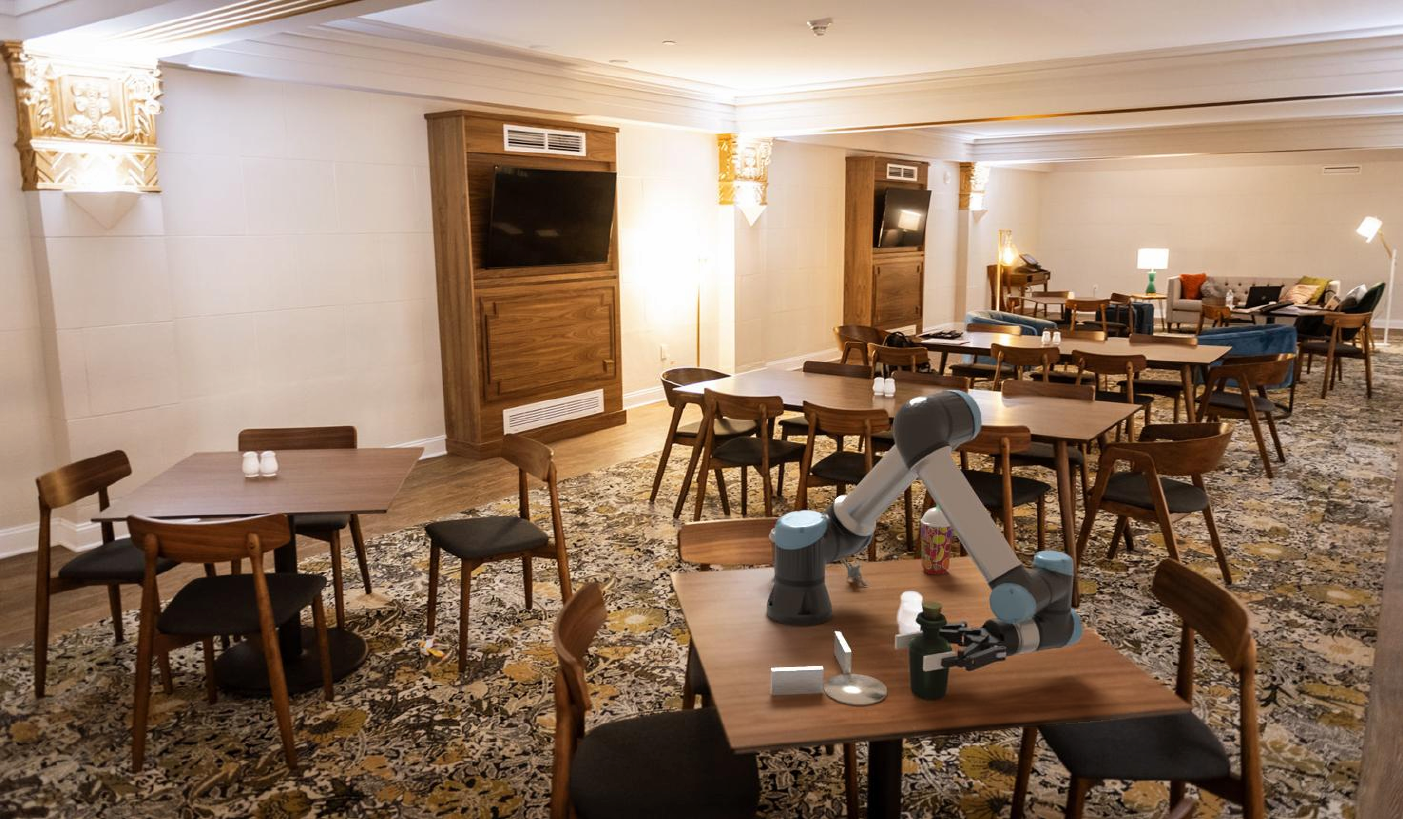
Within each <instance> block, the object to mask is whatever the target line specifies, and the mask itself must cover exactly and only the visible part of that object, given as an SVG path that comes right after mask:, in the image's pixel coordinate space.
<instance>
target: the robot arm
mask: <svg viewBox="0 0 1403 819" xmlns="http://www.w3.org/2000/svg"><path fill="white" fill-rule="evenodd" d="M982 421H983V420H982V412H981V409H980V407H979V405H978V403H977V401H976V400H975V399H974V398H973V396H971V394H969V393H967V392H966V391H962V390H957V389H953V390H952V389H946V390H943V391H941V392H936V393H931V394H927V395H921V396H915V397H913V398H910V399H909V400H906V401H905V402H904V403H903V404H901V406H900V407H899V408H898V409H897V411H896V413H895V414H894V418H893V421H892V422H893V423H892V436H893V440H894V445H893V446H891V448H890V449H889V450H888V451H887V452H886V453H885V454H884V455H883V456H882V458H881V459H880V460H879V461H878V462H877V463H876V464H875V465H874V467H873V468H872V469H871V470H870V471H869V472H868V473H867V474H866V475H865V476H864V477H863V478H862V480H861V481H860V482H859V483H858V484H857V485H856V486H855V487H854V488H853V489H852V490H851V492H850V493H849V494H841V495H839V496H838V497H836V498H835V499H834V501H833V502H831V504H830V505H829V506H828V507H827V508H826V509H825V510H824V511H822V512H818V511H816V510H810V509H809V510H806V509H803V510H799V511H797V510H795V511H791V512H787V513H786V514H783V515H782V516H780V517H779V518H778V519H777V520H776V523H775V527H774V528H775V534H774V541H775V572H774V580H773V581H774V582H773V584H772V588H771V590H770V593H769V595H768V599H767V602H766V614H767V615H766V616H767V617H769V619H771V620H772V619H773V620H772V621H774V620H775V621H774V622H776V621H777V623H779V622H780V624H784V625H788V626H796V627H808V626H809V627H811V626H815V625H820V624H822V623H826V622H827V621H829V620H831V618H832V616H833V614H832V613H833V606H832V605H833V604H832V602H831V598H830V596H829V592H828V589H827V585H826V565H828V564H830V563H832V562H835V561H839V559H841V558H843V559H844V557H845V558H846V557H848V556H854V555H856V554H858V553H860V552H861V551H863V550H864V549H867V547H868V546H869V545H870V543H871V541H872V539H873V537H874V532H875V531H876V528H877V520H878V519H879V518H880V517H881V516H882V515H883V513H885V512H886V511H887V510H888V508H890V507H891V505H892V504H894V503H895V501H896V500H897V499H898V498H899V497H900V496H901V495H902V494H903V493H904V492H905V491H906V490H907V489H908V488H909V487H910V486H911V485H912V484H913V483H914V482H915V481H916V480H917V479H918V478H919V480H920V481H921V482H922V484H923V486H924V487H925V488H926V490H927V491H928V493H929V494H930V496H931V498H932V499H933V501H934V502H935V503H936V506H937V505H938V507H939V509H940V510H941V512H942V513H943V515H944V516H945V518H946V520H947V521H948V523H949V524H950V526H951V527H952V529H953V533H954V534H955V535H956V537H957V539H958V540H959V542H960V543H961V544H962V546H963V548H964V550H965V551H966V552H967V554H968V556H969V557H970V558H971V560H972V561H973V563H974V565H975V566H976V568H977V569H978V571H979V573H980V575H981V576H982V578H983V579H984V580H985V582H986V584H987V585H988V586H989V589H990V591H991V592H990V594H989V598H988V601H989V605H990V610H991V612H992V614H993V615H994V616H995V617H996V618H990V619H987V620H986V621H985V622H983V623H984V624H983V625H982V626H981V627H969V626H968V622H967V621H959V622H951V623H950V622H947V625H946V626H944V627H941V629H940V632H939V636H941V637H942V638H944V639H946V640H947V641H948V642H949V644H950V645H957V647H961V648H962V647H963V649H962V650H961V649H957V651H954V650H952V651H951V652H945V653H939V654H933V655H927V656H924V658H923V670H924V671H931V670H937V669H942V668H948V667H950V668H952V667H957V668H961V669H962V668H965V671H967V672H972V671H975V670H977V669H980V668H983V667H985V666H988V665H992V664H994V663H998V662H1004V661H1006V660H1007V657H1012V656H1014V655H1015V656H1017V655H1019V656H1022V655H1023V654H1027V653H1033V652H1039V651H1046V650H1051V649H1061V648H1063V647H1068V646H1072V645H1075V644H1077V643H1078V642H1079V641H1080V640H1081V638H1082V636H1083V632H1084V627H1083V625H1082V618H1081V616H1080V615H1079V613H1078V612H1077V610H1075V609H1074V608H1073V607H1072V598H1073V597H1072V596H1073V585H1074V577H1075V574H1074V559H1073V558H1072V557H1071V556H1070V555H1068V554H1067V553H1065V552H1061V551H1056V550H1041V551H1038V552H1036V553H1035V555H1034V557H1033V563H1032V569H1030V570H1029V571H1027V570H1026V568H1025V567H1024V565H1023V564H1022V562H1021V561H1020V559H1019V557H1018V556H1017V555H1016V553H1015V551H1014V550H1013V548H1012V547H1011V545H1010V544H1009V542H1008V541H1007V540H1006V538H1005V536H1004V535H1003V533H1002V532H1001V530H1000V529H999V527H998V526H997V524H996V522H995V521H994V519H993V518H992V516H991V514H990V513H989V512H988V510H987V508H986V507H985V506H984V504H983V503H982V501H981V500H980V498H979V496H978V495H977V493H976V492H975V491H974V489H973V487H972V485H971V484H970V482H969V481H968V479H967V478H966V476H965V475H964V473H963V472H962V471H961V469H960V467H959V466H958V464H957V463H956V461H955V459H954V458H953V457H952V455H951V454H952V453H953V452H954V451H955V450H956V449H957V448H958V447H959V446H960V445H961V444H967V443H969V442H971V441H972V440H973V439H975V438H976V437H977V435H979V434H980V431H981V428H982V423H983V422H982ZM919 626H920V627H919V631H918V630H917V631H912V632H905V633H899V634H894V649H895V650H903V649H907V648H908V649H909V647H908V645H909V643H910V642H911V640H912V638H914V637H916V636H918V635H921V634H923V632H922V627H921V625H919Z"/></svg>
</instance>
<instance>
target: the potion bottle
mask: <svg viewBox="0 0 1403 819" xmlns="http://www.w3.org/2000/svg"><path fill="white" fill-rule="evenodd" d="M921 609H922V611H920V612H918V614H917V616H916V618H915V623H916V624H918V625H919V626H920V625H921V627H922V632H923V634H921V635H918V636H916V637H914V638H912V640H911V642H910V643H909V645H908V647H909V648H908V660H909V661H908V662H909V680H910V683H909V684H910V692H911V694H912V695H914V697H916V698H918V699H920V700H923V701H930V702H931V701H932V702H933V701H934V702H935V701H939V700H942V699H943V698H945V696H946V694H947V690H948V688H947V687H948V682H949V681H948V680H949V675H950V674H949V673H950V668H951V667H948V668H942V669H937V670H931V671H924V670H923V658H924V656H927V655H933V654H939V653H945V652H951V651H953V647H952V646H951V644H949V642H948V641H947V640H946V639H944V638H942V637H941V636H939V632H940V629H941V627H944V626H946V625H947V623H948V621H947V617H946V616H945V614H943V613H942V609H943V604H942V603H940V602H939V601H934V600H930V601H929V600H927V601H926V600H925V601H923V602H922V603H921Z"/></svg>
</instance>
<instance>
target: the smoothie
mask: <svg viewBox="0 0 1403 819" xmlns="http://www.w3.org/2000/svg"><path fill="white" fill-rule="evenodd" d="M953 533H954V531H953V529H952V527H951V526H950V524H949V523H948V521H947V520H946V518H945V516H944V515H943V513H942V512H941V510H940V509H939V507H938V505H937V504H936V506H935V507H932V508H929V509H927V510H926V512H924V515H923V516H922V518H921V519H920V541H921V567H922V568H923V571H924V573H926V574H928V575H933V576H941V575H945V574H946V573H947V570H948V569H949V568H950V558H951V549H952V538H953Z"/></svg>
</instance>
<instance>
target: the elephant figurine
mask: <svg viewBox="0 0 1403 819" xmlns="http://www.w3.org/2000/svg"><path fill="white" fill-rule="evenodd" d="M839 560H840V562H841V563H842V564H844V566H845V567H846V569H847V577H846V579H848V580H849V579H852V580H853V579H856V580H857V581H859V583H860V584H861V586H862V587H864V586H867V587H868V585H867V581H863V580H862V578H861V576H862V575H863V573H862V572H861V571H860V569H861V568H863V567H864V566H863V565H861V564H860V561H858V562H857V563H856V564H855V565H852V564H851V563H850V562H848V563H847V562H846V557H844V558H841V559H838V561H839ZM859 576H860V577H859Z"/></svg>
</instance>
